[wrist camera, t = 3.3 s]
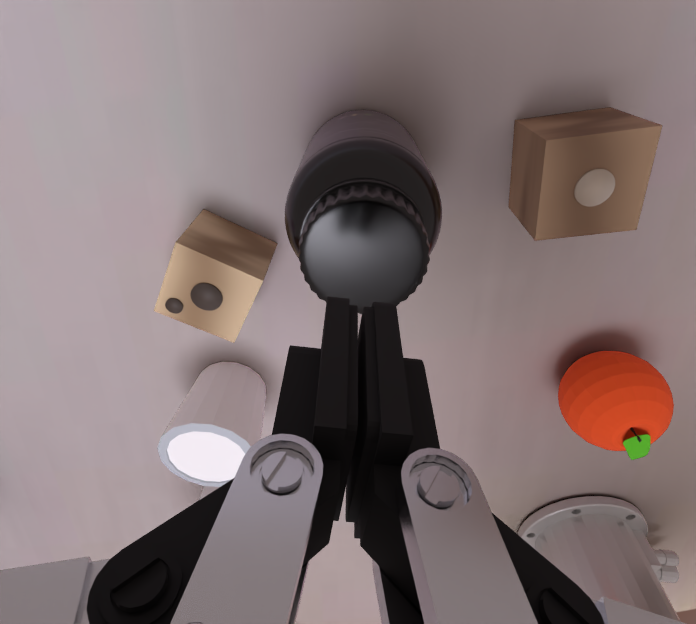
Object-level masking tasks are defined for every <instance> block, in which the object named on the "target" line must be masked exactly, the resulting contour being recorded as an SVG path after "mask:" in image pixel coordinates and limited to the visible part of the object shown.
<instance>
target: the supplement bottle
mask: <svg viewBox="0 0 696 624" xmlns="http://www.w3.org/2000/svg"><path fill="white" fill-rule="evenodd" d="M441 221H442V207H441V200H440V196H439V192H438V189H437V186H436V183H435V181H434V179H433V177H432V175H431V173H430V171H429V169H428V167H427V165H426V163H425V161H424V159H423V157H422V155H421V153H420V151H419V149H418V147H417V145H416V143H415V142H414V140H413V139H412V137H411V135H410V134H409V133H408V131H407V130H406V129H405V128H404V127H403V126H402V125H401V124H400V123H398V122H397V121H396V120H394V119H393V118H391V117H389V116H387V115H385V114H383V113H380V112H376V111H371V110H354V111H349V112H345V113H342V114H340V115H338V116H336V117H334V118H332V119H331V120H329V121H328V122H327V123H325V124H324V125H323V126H322V127H321V128H320V129H319V130H318V131H317V133H316V134H315V135H314V137H313V138H312V140H311V142H310V143H309V145H308V147H307V149H306V152H305V154H304V156H303V159H302V161H301V163H300V165H299V168H298V170H297V172H296V175H295V177H294V180H293V182H292V184H291V187H290V189H289V193H288V196H287V201H286V206H285V225H286V231H287V235H288V238H289V241H290V244H291V246H292V248H293V250H294V252H295V254H296V255H297V257H298V258H299V261H300V262H301V266H300V269H301V271H302V272H303V274H304V278H305V281H306V282H307V283H308V284H309V285H310V288H311V290H312V291H313V292H315V293H317V295H318V297H319V298H320V299H322V300H325V301H326V303H327V296H330V297H339V298H347V299H349V305H357V307H358V313H360V314H362V313H363V308H364V306H365V307H372V303H373V302H382V303H390V304H395V305H396V306H397V305H398V304H399V303H400V302H402V301H404V300H406V299H407V298H408V296H409V295H410V294H412V293H414V292H415V290H416V288H417V286H418V285H419V284H421V283H422V280H423V276H424V275H425V274H426V272H427V264H428V263H429V261H430V257H429V255H430V254H431V252H432V250H433V248H434V246H435V244H436V242H437V239H438V236H439V233H440V228H441Z"/></svg>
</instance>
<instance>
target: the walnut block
mask: <svg viewBox="0 0 696 624" xmlns="http://www.w3.org/2000/svg"><path fill="white" fill-rule="evenodd" d="M661 129H662V125H660V124H657V123H654V122H651V121H648V120H645V119H642V118H639V117H637V116H634V115H631V114H628V113H625V112H622V111H619V110H616V109H614V108H611V107H608V108H601V109H593V110H586V111H579V112H571V113H564V114H556V115H549V116H541V117H534V118H527V119H519V120H515V125H514V139H513V152H512V166H511V180H510V193H509V208H510V210H511V211H512V212H513V213H514V215H515V216H516V217H517V218H518V220H519V221H520V222H521V224H522V225H523V226H524V227H525V229H526V230H527V231H528V232H529V234H530V235H531V236H532V237H533V239H534V240H535V241H537V240H546V239H555V238H564V237H574V236H583V235H592V234H601V233H611V232H620V231H629V230H636V229H637V225H638V221H639V217H640V213H641V209H642V205H643V201H644V197H645V193H646V189H647V185H648V181H649V177H650V173H651V169H652V165H653V161H654V157H655V153H656V149H657V145H658V141H659V137H660V133H661Z"/></svg>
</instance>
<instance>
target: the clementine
mask: <svg viewBox="0 0 696 624" xmlns="http://www.w3.org/2000/svg"><path fill="white" fill-rule="evenodd" d="M558 400H559V406H560V409H561V413H562V415H563V417H564V419H565V420H566V422H567V423H568V425H569V426H570V427H571V429H572V430H573V431H574V432H575V433H577V434H578V435H579V436H580V437H582V438H583V439H584V440H586V441H587V442H588V443H591V444H593V445H596V446H598V447H601V448H604V449H606V450H613V451H627V453H628V455H629V457H630V458H631V460H633V459H637V458H641V457H644V456H646V455H647V454H648V452H649V450H650V444H652V443H653V442H654V441H656V440H657V439H658V438H659V437H660V436H661V435H662V434H663V433H664V432H665V431H666V430H667V428H668V426H669V424H670V422H671V418H672V415H673V407H674V404H673V398H672V393H671V391H670V388H669V386H668V384H667V382H666V380H665V379H664V377H663V376H662V375H661V374H660V373H659V372H658V371H657V370H656V369H655V368H654V367H653V366H652V365H651V364H649V363H648V362H647V361H645V360H643V359H641V358H638V357H636V356H634V355H631V354H629V353H625V352H619V351H599V352H595V353H591V354H588V355H586V356H584V357H582V358H580V359H578V360H577V361H575V362H574V363H573V364H572V365H571V366H570V367H569V368H568V369H567V371H566V373H565V374H564V376H563V378H562V379H561V382H560V385H559V392H558Z"/></svg>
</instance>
